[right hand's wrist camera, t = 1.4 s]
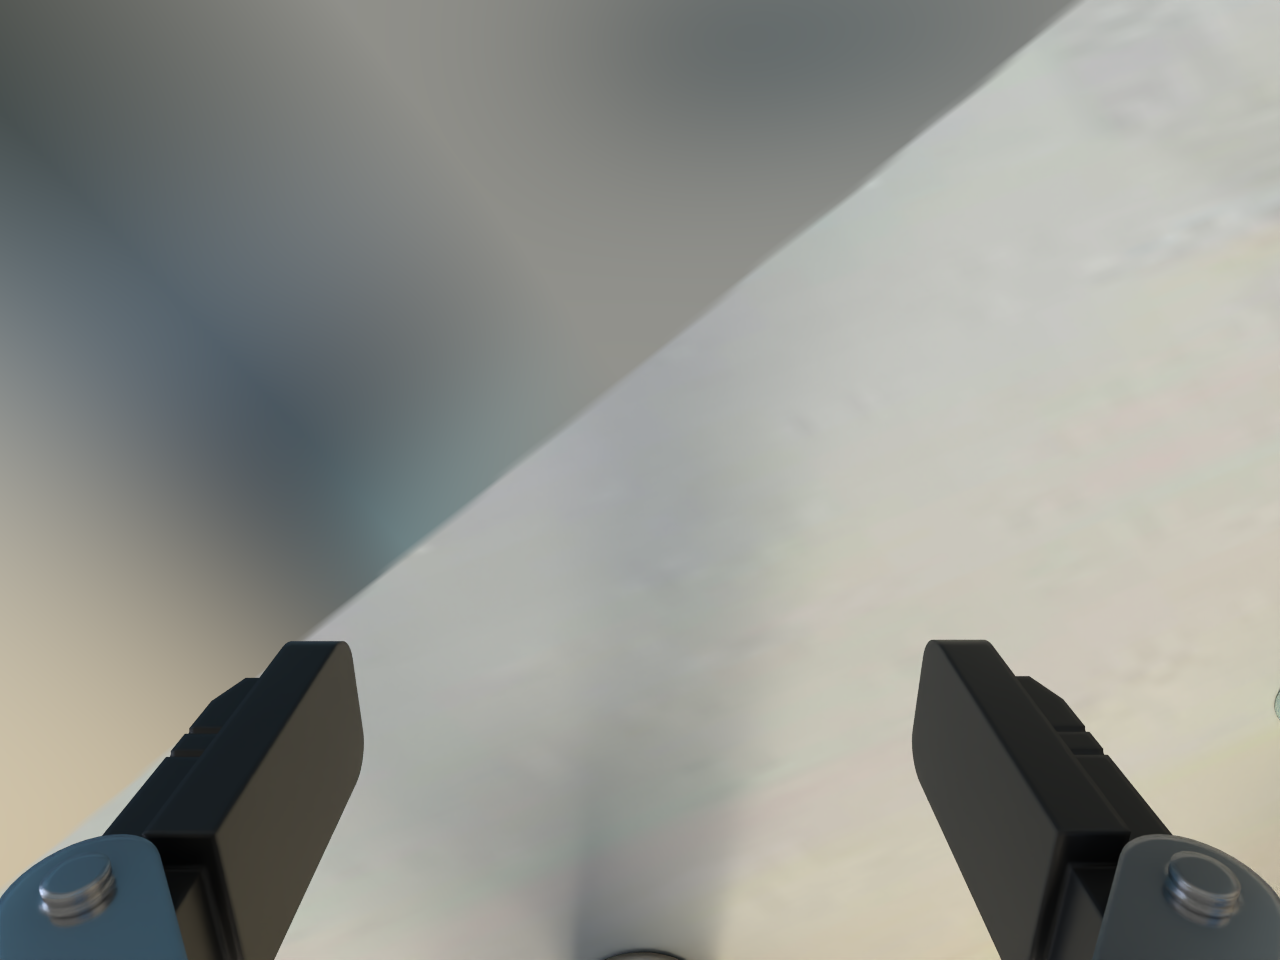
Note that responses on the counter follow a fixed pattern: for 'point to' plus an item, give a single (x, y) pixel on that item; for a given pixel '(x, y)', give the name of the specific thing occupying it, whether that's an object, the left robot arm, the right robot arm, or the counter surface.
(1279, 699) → the pale green cylinder
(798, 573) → the counter surface
